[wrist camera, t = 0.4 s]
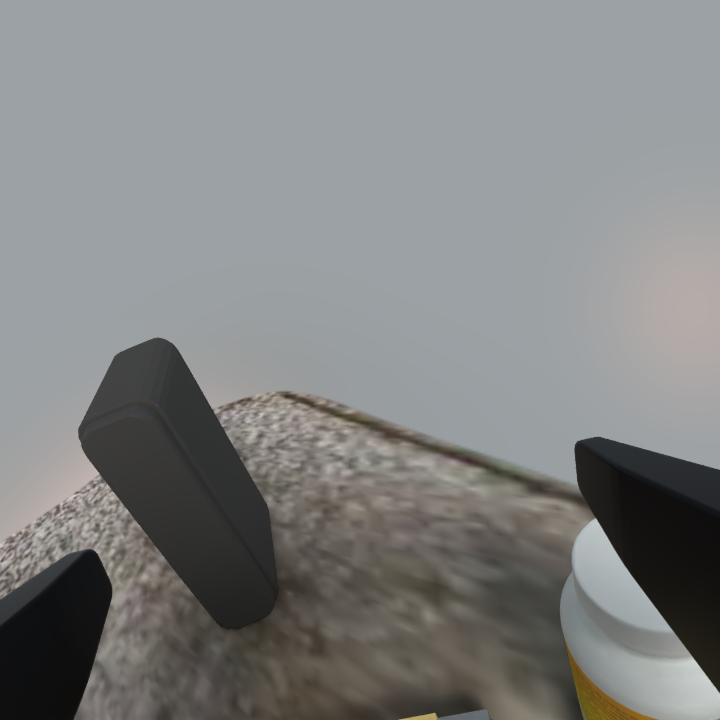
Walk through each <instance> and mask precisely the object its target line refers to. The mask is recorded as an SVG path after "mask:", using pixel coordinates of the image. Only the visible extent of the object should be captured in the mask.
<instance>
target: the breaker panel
mask: <svg viewBox="0 0 720 720" xmlns="http://www.w3.org/2000/svg"><path fill="white" fill-rule="evenodd" d="M400 720H491V717H490V715H489V712H488V710H487V709H484V710H478V711H473V712H467V713H462V714H456V715H451V716H445V717H440V718H438V717H437V715H436V713H432V714H427V715H421V716H416V717H411V718H405V719H400Z"/></svg>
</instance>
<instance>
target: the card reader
mask: <svg viewBox="0 0 720 720" xmlns="http://www.w3.org/2000/svg"><path fill="white" fill-rule="evenodd" d="M78 434H79V439H80V441H81V446H82V449H83V451H84V453H85V454H86V456H87V457H88V459H89V460H90V462H91V463H92V464H93V465H94V467H95V468H96V469H97V471H98V472H99V473H100V475H101V476H102V477H103V479H104V480H105V481H106V483H107V484H108V485H109V486H110V488H111V489H112V490H113V492H114V493H115V494H116V495H117V497H118V498H119V499H120V501H121V502H122V503H123V504H124V506H125V507H126V508H127V510H128V511H129V512H130V513H131V515H132V516H133V517H134V519H135V520H136V521H137V523H138V524H139V525H140V526H141V528H142V529H143V530H144V532H145V533H146V534H147V535H148V537H149V538H150V539H151V541H152V542H153V543H154V544H155V546H156V547H157V548H158V550H159V551H160V552H161V553H162V555H163V556H164V557H165V559H166V560H167V561H168V562H169V564H170V565H171V566H172V568H173V569H174V570H175V572H176V573H177V574H178V575H179V577H180V578H181V579H182V580H183V582H184V583H185V584H186V585H187V587H188V588H189V589H190V590H191V592H192V593H193V594H194V595H195V596H196V598H197V599H198V600H199V601H200V603H201V604H202V605H203V606H204V608H205V609H206V610H207V611H208V613H209V614H210V615H211V616H212V618H213V619H214V620H215V621H216V623H217V624H219V625H220V626H221V627H223V628H226V629H239V628H241V627H243V626H245V625H248V624H250V623H252V622H254V621H256V620H258V619H261V618H263V617H265V616H267V615H268V614H269V613H270V612H271V610H272V609H273V606H274V600H275V599H276V597H277V593H278V587H277V578H276V570H275V561H274V552H273V544H272V535H271V526H270V518H269V510H268V507H267V504H266V502H265V501H264V499H263V497H262V496H261V494H260V492H259V490H258V489H257V487H256V485H255V483H254V482H253V480H252V478H251V476H250V475H249V473H248V471H247V470H246V468H245V466H244V464H243V463H242V461H241V459H240V457H239V456H238V454H237V452H236V450H235V449H234V447H233V445H232V443H231V442H230V440H229V438H228V436H227V435H226V433H225V431H224V429H223V428H222V426H221V424H220V422H219V421H218V419H217V417H216V415H215V414H214V412H213V410H212V408H211V407H210V405H209V403H208V401H207V400H206V398H205V396H204V394H203V392H202V391H201V389H200V387H199V385H198V384H197V382H196V380H195V378H194V377H193V375H192V373H191V371H190V370H189V368H188V366H187V365H186V363H185V361H184V359H183V358H182V356H181V354H180V353H179V351H178V350H177V348H176V347H175V346H174V345H173V344H172V343H171V342H169V341H167V340H165V339H162V338H154V339H151V340H148V341H146V342H143V343H141V344H138V345H136V346H134V347H131V348H129V349H127V350H125V351H122V352H120V353H119V354H117V355H116V356H115V357H114V359H113V361H112V363H111V365H110V367H109V369H108V371H107V373H106V375H105V377H104V379H103V381H102V383H101V385H100V387H99V389H98V391H97V393H96V395H95V397H94V399H93V401H92V403H91V405H90V407H89V409H88V411H87V413H86V415H85V417H84V419H83V421H82V423H81V425H80V427H79V429H78Z"/></svg>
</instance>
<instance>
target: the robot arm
mask: <svg viewBox="0 0 720 720" xmlns="http://www.w3.org/2000/svg"><path fill="white" fill-rule="evenodd" d="M575 461H576V472H577V481H578V486H579V489H580V491H581V494H582V495H583V497H584V499H585V500H586V502H587V504H588V506H589V507H590V509H591V511H592V512H593V514H594V516H595V517H596V519H597V521H598V523H599V524H600V526H601V528H602V529H603V531H604V533H605V534H606V536H607V538H608V539H609V541H610V543H611V545H612V546H613V548H614V550H615V551H616V553H617V555H618V556H619V558H620V559H621V561H622V563H623V564H624V566H625V567H626V568H627V570H628V571H629V573H630V574H631V576H632V577H633V578H634V580H635V581H636V582H637V584H638V585H639V586H640V588H641V589H642V590H643V592H644V593H645V594H646V596H647V597H648V598H649V600H650V601H651V602H652V604H653V605H654V606H655V608H656V609H657V610H658V612H659V613H660V614H661V616H662V617H663V618H664V620H665V621H666V622H667V624H668V625H669V626H670V628H671V629H672V630H673V632H674V633H675V634H676V636H677V637H678V638H679V640H680V641H681V642H682V644H683V645H684V646H685V648H686V649H687V650H688V652H689V653H690V654H691V656H692V657H693V658H694V660H695V661H696V662H697V664H698V665H699V666H700V668H701V669H702V671H703V672H704V673H705V675H706V676H707V677H708V679H709V680H710V681H711V683H712V684H713V685H714V687H715V688H716V689H717V691H718V692H719V693H720V470H718V469H714V468H710V467H707V466H704V465H700V464H696V463H692V462H689V461H685V460H682V459H678V458H674V457H671V456H667V455H664V454H659V453H656V452H652V451H649V450H645V449H642V448H638V447H634V446H630V445H627V444H624V443H620V442H616V441H613V440H609V439H605V438H602V437H593V438H588V439H584V440H580V441H577V443H576V444H575ZM111 599H112V585H111V582H110V580H109V577H108V575H107V573H106V571H105V569H104V567H103V564H102V562H101V560H100V558H99V556H98V554H97V553H96V552H95V551H94V550H91V549H87V550H82V551H78V552H73V553H70V554H68V555H66V556H64V557H63V558H61V559H60V560H59V561H57V562H56V563H54V564H53V565H51V566H50V567H48V568H47V569H45V570H44V571H42V572H41V573H39V574H38V575H36V576H35V577H33V578H32V579H30V580H29V581H27V582H26V583H24V584H23V585H21V586H20V587H18V588H17V589H15V590H14V591H13V592H11V593H10V594H8V595H7V596H5V597H4V598H2V599H1V600H0V720H74V718H75V715H76V712H77V710H78V707H79V704H80V702H81V699H82V697H83V694H84V691H85V688H86V685H87V683H88V680H89V676H90V673H91V670H92V667H93V663H94V660H95V656H96V653H97V649H98V645H99V642H100V638H101V635H102V631H103V628H104V624H105V621H106V617H107V613H108V610H109V606H110V603H111Z"/></svg>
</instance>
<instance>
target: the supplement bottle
mask: <svg viewBox="0 0 720 720" xmlns="http://www.w3.org/2000/svg"><path fill="white" fill-rule="evenodd" d="M571 562H572V570H573V571H572V572H571V574H570V575H569V577H568V578H567V581H566V583H565V585H564V588H563V591H562V596H561V601H560V619H561V626H562V631H563V636H564V640H565V644H566V649H567V652H568V657H569V661H570V665H571V669H572V674H573V678H574V682H575V687H576V691H577V696H578V700H579V704H580V708H581V712H582V716H583V720H720V693H719V692H718V691H717V689H716V688H715V687H714V685H713V684H712V683H711V681H710V680H709V679H708V677H707V676H706V675H705V673H704V672H703V671H702V669H701V668H700V666H699V665H698V664H697V662H696V661H695V660H694V658H693V657H692V656H691V654H690V653H689V652H688V650H687V649H686V648H685V646H684V645H683V644H682V642H681V641H680V640H679V638H678V637H677V636H676V634H675V633H674V632H673V630H672V629H671V628H670V626H669V625H668V624H667V622H666V621H665V620H664V618H663V617H662V616H661V614H660V613H659V612H658V610H657V609H656V608H655V606H654V605H653V604H652V602H651V601H650V600H649V598H648V597H647V596H646V594H645V593H644V592H643V590H642V589H641V588H640V586H639V585H638V584H637V582H636V581H635V580H634V578H633V577H632V576H631V574H630V573H629V571H628V570H627V568H626V567H625V566H624V564H623V563H622V561H621V559H620V558H619V556H618V555H617V553H616V551H615V550H614V548H613V546H612V545H611V543H610V541H609V539H608V538H607V536H606V534H605V533H604V531H603V529H602V528H601V526H600V524H599V523H598V521H597V519H596V518H595V519H593V520H592V521H591V522H589V523H588V524H587V525H586V526H585V527H584V528H583V529H582V530H581V531H580V532H579V534H578V536H577V537H576V540H575V542H574V545H573V549H572V555H571Z"/></svg>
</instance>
